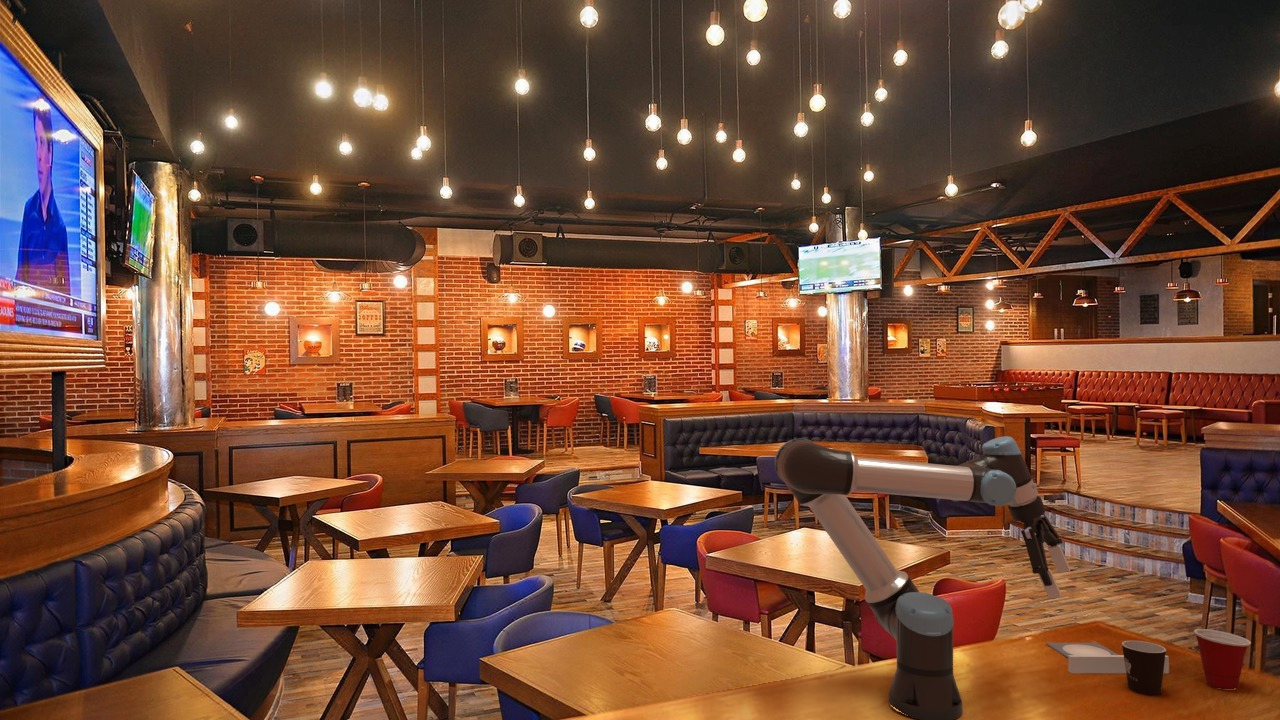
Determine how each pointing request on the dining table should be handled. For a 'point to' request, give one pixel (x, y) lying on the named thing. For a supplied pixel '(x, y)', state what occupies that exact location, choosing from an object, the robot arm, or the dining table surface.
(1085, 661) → the low wall
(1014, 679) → the dining table surface
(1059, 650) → the mat
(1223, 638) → the plastic cup
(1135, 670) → the coffee mug
